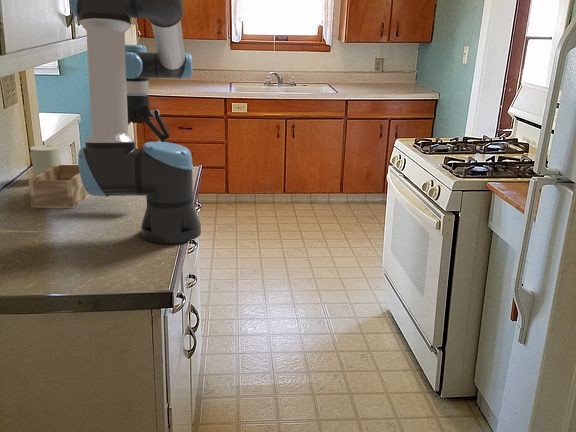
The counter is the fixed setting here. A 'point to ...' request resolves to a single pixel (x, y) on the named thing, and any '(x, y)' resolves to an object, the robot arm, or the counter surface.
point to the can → (44, 157)
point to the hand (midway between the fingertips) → (140, 158)
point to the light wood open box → (57, 188)
